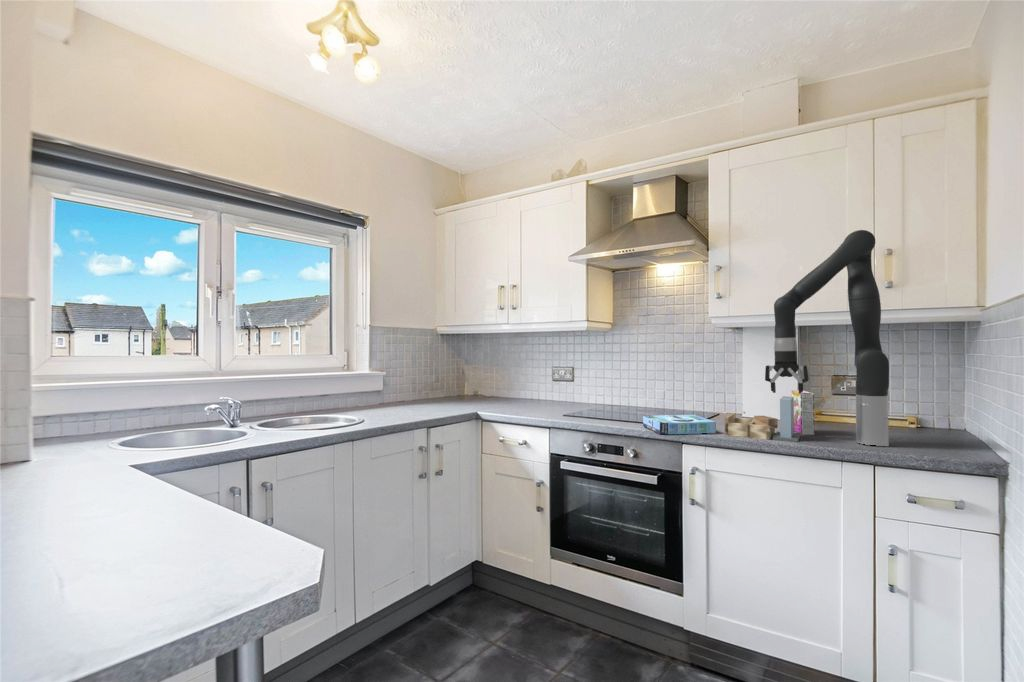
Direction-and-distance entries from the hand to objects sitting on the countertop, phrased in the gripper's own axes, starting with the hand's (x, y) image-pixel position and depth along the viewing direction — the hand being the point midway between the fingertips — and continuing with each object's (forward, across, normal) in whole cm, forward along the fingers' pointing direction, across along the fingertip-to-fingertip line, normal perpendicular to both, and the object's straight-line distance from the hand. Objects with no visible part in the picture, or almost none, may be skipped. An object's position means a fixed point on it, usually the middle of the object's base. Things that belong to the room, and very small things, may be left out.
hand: (786, 393), depth 189 cm
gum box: (+14, +30, -2) cm, 33 cm away
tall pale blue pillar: (+16, 0, 0) cm, 16 cm away
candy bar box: (+17, -4, -15) cm, 23 cm away
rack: (+17, +13, 0) cm, 21 cm away
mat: (+17, 0, 0) cm, 17 cm away
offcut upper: (+13, +8, 0) cm, 15 cm away
